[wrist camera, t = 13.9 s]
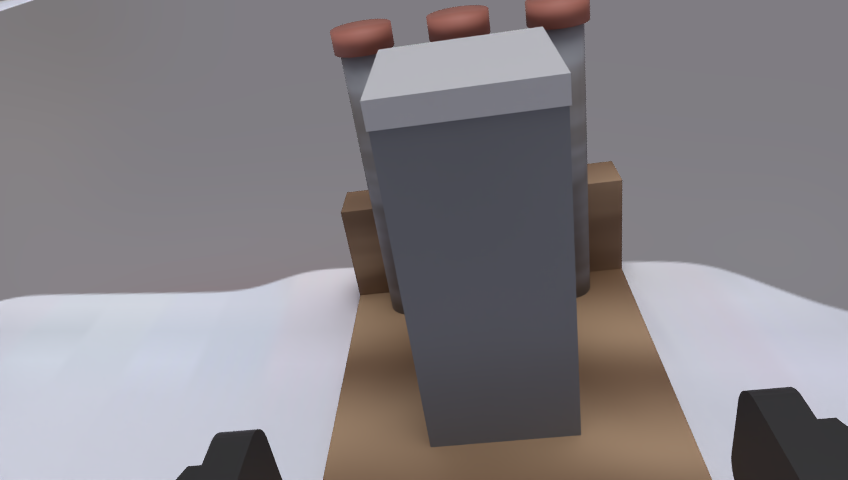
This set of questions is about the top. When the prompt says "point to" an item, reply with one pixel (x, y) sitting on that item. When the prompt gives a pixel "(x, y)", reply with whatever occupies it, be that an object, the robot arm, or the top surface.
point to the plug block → (482, 230)
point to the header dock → (596, 316)
